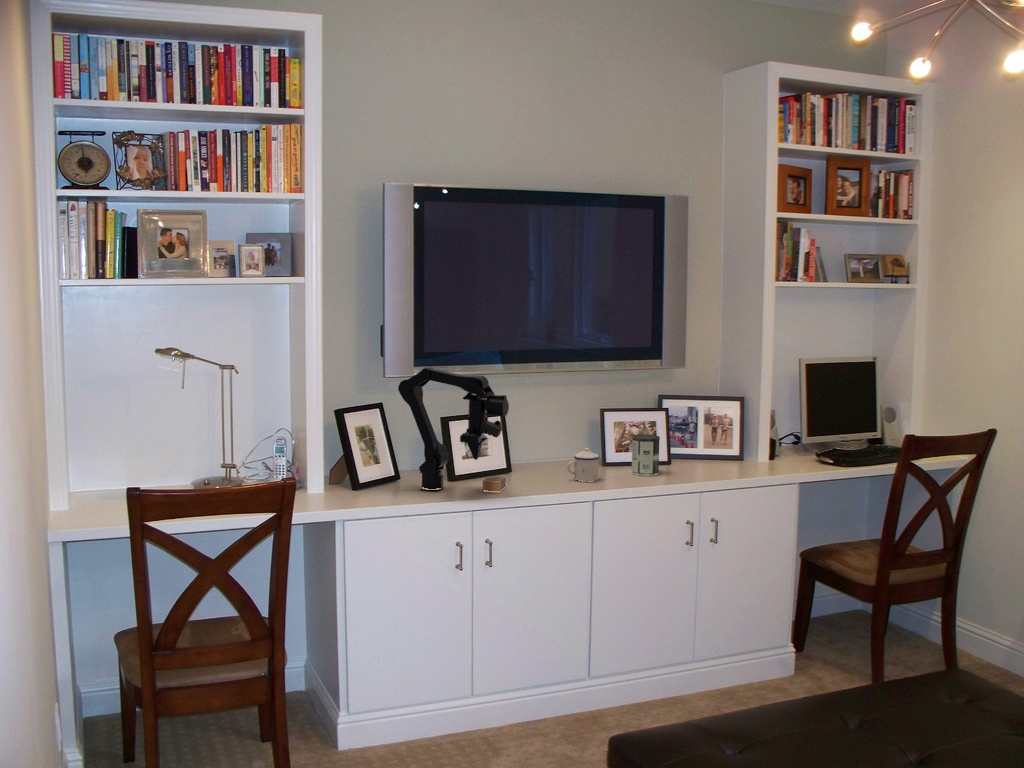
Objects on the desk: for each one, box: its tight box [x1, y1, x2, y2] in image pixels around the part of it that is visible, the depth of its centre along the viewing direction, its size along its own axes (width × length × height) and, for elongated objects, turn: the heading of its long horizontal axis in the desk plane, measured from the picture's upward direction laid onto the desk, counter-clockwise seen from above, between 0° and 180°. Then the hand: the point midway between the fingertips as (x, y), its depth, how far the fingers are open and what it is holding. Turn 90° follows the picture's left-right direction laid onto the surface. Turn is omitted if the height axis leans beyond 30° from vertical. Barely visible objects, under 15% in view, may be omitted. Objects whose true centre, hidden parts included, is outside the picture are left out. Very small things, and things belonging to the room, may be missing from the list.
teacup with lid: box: [566, 447, 600, 482], centre depth 334 cm, size 12×9×12 cm
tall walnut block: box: [482, 475, 506, 491], centre depth 318 cm, size 6×4×8 cm
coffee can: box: [631, 433, 661, 477], centre depth 347 cm, size 10×10×14 cm
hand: (475, 459), depth 312 cm, fingers closed
